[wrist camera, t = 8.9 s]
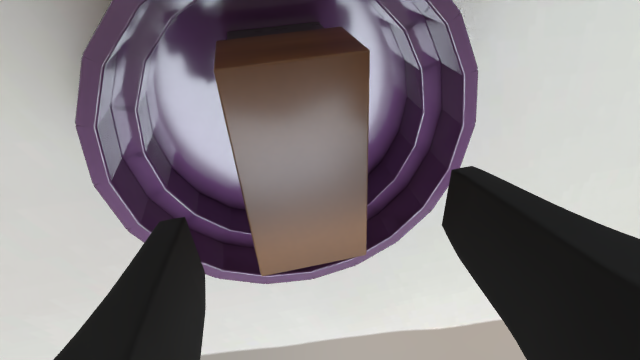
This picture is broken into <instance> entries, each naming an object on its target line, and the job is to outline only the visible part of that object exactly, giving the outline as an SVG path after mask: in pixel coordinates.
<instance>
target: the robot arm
mask: <svg viewBox="0 0 640 360" xmlns="http://www.w3.org/2000/svg"><path fill="white" fill-rule="evenodd" d="M442 226H443V228H444V230H445V232H446V234H447V236H448V238H449V240H450V242H451V244H452V246H453V248H454V250H455V252H456V253H457V255H458V257H459V258H460V260H461V261H462V263H463V264H464V266H465V267H466V269H467V270H468V271H469V273H470V274H471V276H472V277H473V279H474V280H475V282H476V283H477V284H478V286H479V287H480V289H481V290H482V291H483V293H484V294H485V296H486V297H487V299H488V300H489V301H490V303H491V304H492V306H493V307H494V308H495V310H496V311H497V313H498V314H499V316H500V317H501V318H502V320H503V321H504V323H505V324H506V326H507V327H508V329H509V330H510V332H511V333H512V335H513V337H514V338H515V340H516V341H517V343H518V345H519V347H520V349H521V350H522V352H523V354H524V356H525V357H526V359H527V360H640V239H638V238H635V237H633V236H630V235H627V234H624V233H621V232H619V231H616V230H614V229H611V228H609V227H606V226H604V225H601V224H599V223H596V222H594V221H592V220H589V219H587V218H584V217H582V216H580V215H577V214H575V213H573V212H570V211H568V210H566V209H564V208H562V207H559V206H557V205H555V204H553V203H551V202H548V201H546V200H544V199H542V198H540V197H538V196H536V195H534V194H532V193H529V192H527V191H525V190H523V189H521V188H519V187H517V186H515V185H513V184H511V183H509V182H507V181H505V180H502V179H500V178H498V177H496V176H494V175H492V174H490V173H487V172H485V171H483V170H481V169H478V168H476V167H473V166H470V167H464V168H458V169H453V170H451V176H450V182H449V188H448V193H447V199H446V205H445V210H444V216H443V222H442ZM204 318H205V271H204V268H203V265H202V263H201V260H200V257H199V254H198V252H197V249H196V246H195V243H194V241H193V238H192V235H191V232H190V230H189V227H188V224H187V221H186V219H185V217H181V218H175V219H169V220H164V221H160V222H159V223H158V224H157V226H156V227H155V228H154V230H153V231H152V233H151V234H150V236H149V237H148V238H147V240H146V241H145V243H144V244H143V246H142V247H141V249H140V250H139V252H138V253H137V254H136V256H135V257H134V259H133V260H132V262H131V263H130V264H129V266H128V267H127V269H126V270H125V271H124V273H123V274H122V275H121V277H120V278H119V280H118V281H117V282H116V284H115V285H114V286H113V288H112V289H111V291H110V292H109V293H108V295H107V296H106V297H105V298H104V300H103V301H102V302H101V304H100V305H99V306H98V307H97V309H96V310H95V311H94V312H93V314H92V315H91V316H90V317H89V319H88V320H87V321H86V322H85V324H84V325H83V326H82V327H81V329H80V330H79V331H78V332H77V333H76V335H75V336H74V337H73V338H72V339H71V340H70V342H69V343H68V344H67V345H66V346H65V347H64V349H63V350H62V351H61V352H60V353H59V354H58V355H57V356H56V357H55V358H54V360H200V355H201V346H202V337H203V328H204Z"/></svg>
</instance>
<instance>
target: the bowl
mask: <svg viewBox="0 0 640 360" xmlns="http://www.w3.org/2000/svg"><path fill="white" fill-rule="evenodd" d="M311 22H319V23H320V24H321V25H322V26H323V27H324V28H333V27H343V28H344V29H345V30H346V31H347V32H349V33H350V34H351V35H352V36H353V37H355V38H356V39H357V40H358V41H359V42H361V43H362V44H363V45H364V46H365V47H366V48H368V49H369V50H370V76H369V133H368V189H367V246H366V255H364V256H359V257H354V258H349V259H344V260H339V261H335V262H330V263H325V264H320V265H315V266H310V267H305V268H301V269H296V270H291V271H286V272H281V273H276V274H271V275H266V276H261V274H260V269H259V265H258V261H257V257H256V252H255V248H254V244H253V239H252V235H251V231H250V226H249V222H248V218H247V213H246V209H245V205H244V200H243V196H242V192H241V187H240V183H239V179H238V174H237V170H236V166H235V161H234V157H233V153H232V148H231V144H230V140H229V135H228V131H227V127H226V123H225V118H224V114H223V110H222V105H221V101H220V97H219V92H218V88H217V84H216V79H215V75H214V61H215V48H216V41H220V40H227V32H231V31H240V30H249V29H258V28H267V27H275V26H284V25H293V24H302V23H311ZM477 84H478V67H477V64H476V60H475V57H474V54H473V50H472V47H471V44H470V41H469V37H468V34H467V31H466V27H465V24H464V21H463V17H462V14H461V13H460V10H459V9H458V7H457V6H456V5H455V4H454V2H453V1H452V0H112V1H111V3H110V5H109V7H108V9H107V10H106V12H105V14H104V16H103V18H102V19H101V21H100V23H99V25H98V27H97V28H96V30H95V32H94V34H93V36H92V37H91V39H90V41H89V43H88V45H87V46H86V48H85V50H84V52H83V56H82V58H81V68H80V78H79V88H78V98H77V108H76V118H75V124H76V130H77V133H78V136H79V140H80V143H81V146H82V150H83V153H84V156H85V160H86V163H87V166H88V170H89V173H90V176H91V180H92V183H93V184H94V187H95V188H96V189H97V191H98V192H99V193H100V195H101V196H102V197H103V199H104V200H105V201H106V203H107V204H108V205H109V207H110V208H111V209H112V211H113V212H114V213H115V215H116V216H117V217H118V219H119V220H120V221H121V223H122V224H123V225H124V227H125V228H126V229H128V231H129V232H130V233H131V234H133V235H134V236H136V237H137V238H138V239H140V240H141V241H143V242H144V243H145V241H146V240H147V238H148V237H149V236H150V234H151V233H152V231H153V230H154V228H155V227H156V226H157V224H158V223H159V222H160V221H164V220H169V219H175V218H181V217H185V219H186V221H187V224H188V227H189V230H190V232H191V235H192V238H193V241H194V243H195V246H196V249H197V252H198V254H199V257H200V260H201V263H202V265H203V268H204V271H205V274H207V275H209V276H212V277H215V278H219V279H226V280H235V281H243V282H252V283H260V284H265V283H266V284H271V283H281V282H291V281H301V280H311V279H315V278H318V277H321V276H324V275H327V274H330V273H334V272H337V271H340V270H343V269H346V268H349V267H352V266H355V265H358V264H359V263H361V262H363V261H365V260H366V259H368V258H370V257H372V256H373V255H375V254H377V253H379V252H380V251H382V250H384V249H386V248H387V247H389V246H391V245H393V244H394V243H396V242H397V241H399V240H400V239H401V238H402V237H403V236H404V235H405V234H406V233H407V232H409V231H410V230H411V229H412V228H413V227H414V226H415V225H416V224H417V223H418V222H420V221H421V220H422V219H423V218H424V217H425V216H426V215H427V214H428V213H430V211H431V210H432V209H433V208H434V207H435V205H436V204H437V202H438V201H439V199H440V198H441V196H442V195H443V193H444V192H445V191H446V189H447V188H448V186H449V182H450V176H451V170H453V169H458V168H460V166H461V163H462V161H463V158H464V155H465V152H466V149H467V147H468V144H469V141H470V138H471V135H472V132H473V130H474V127H475V122H476V107H477Z"/></svg>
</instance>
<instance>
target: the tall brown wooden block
mask: <svg viewBox="0 0 640 360" xmlns="http://www.w3.org/2000/svg"><path fill="white" fill-rule="evenodd" d="M214 75H215V79H216V84H217V88H218V92H219V97H220V101H221V105H222V110H223V114H224V118H225V123H226V127H227V131H228V135H229V140H230V144H231V148H232V153H233V157H234V161H235V166H236V170H237V174H238V179H239V183H240V187H241V192H242V196H243V200H244V205H245V209H246V213H247V218H248V222H249V226H250V231H251V235H252V239H253V244H254V248H255V252H256V257H257V261H258V265H259V269H260V274H261V276H266V275H271V274H276V273H281V272H286V271H291V270H296V269H301V268H305V267H310V266H315V265H320V264H325V263H330V262H335V261H339V260H344V259H349V258H354V257H359V256H364V255H366V246H367V189H368V133H369V76H370V50H369V49H368V48H366V47H365V46H364V45H363V44H362V43H361V42H359V41H358V40H357V39H356V38H355V37H353V36H352V35H351V34H350V33H349V32H347V31H346V30H345V29H344V28H343V27H333V28H324V27H323V26H322V25H321V24H320V23H319V22H311V23H302V24H293V25H284V26H275V27H267V28H258V29H249V30H240V31H231V32H227V40H220V41H216V48H215V61H214Z"/></svg>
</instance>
